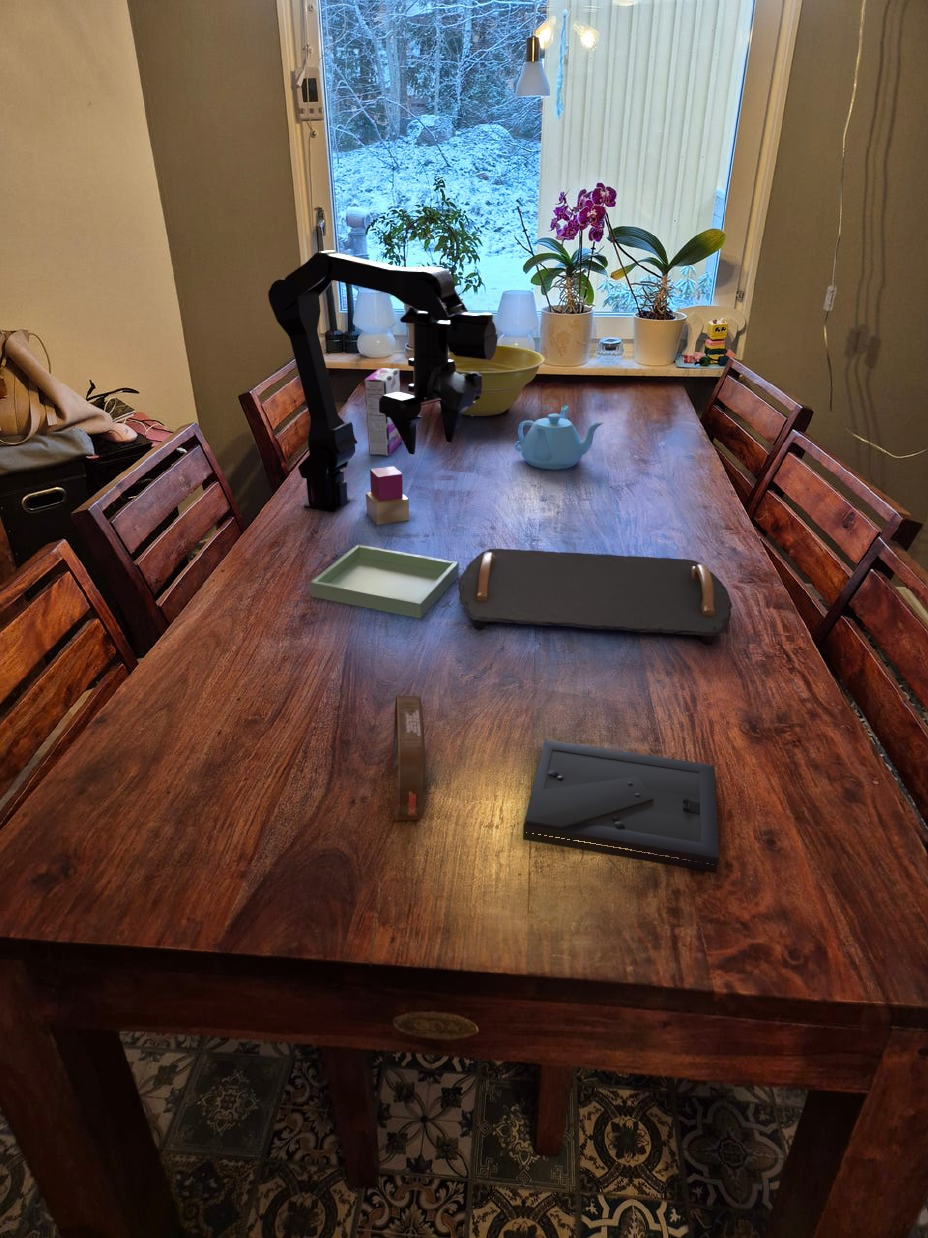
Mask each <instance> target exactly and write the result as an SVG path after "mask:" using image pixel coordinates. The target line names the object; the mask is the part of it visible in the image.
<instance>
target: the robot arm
mask: <svg viewBox="0 0 928 1238" xmlns="http://www.w3.org/2000/svg"><path fill="white" fill-rule="evenodd" d="M334 281H335V282H339V283H342V284H348V285H351V286H355V287H360V288H363V289H368V290H371V291H376V292H380V293H384V294H387V295H390V296H393V297H394V298H396V299H397V300H399V301H400V302H401V303H402V304H405V305H407V306H409V308H408V310H407V312H405V314H404V315H402V316H401V317H400V319H399V321H400V322H401V323H403V324H410V325H411V324H412V340H413V341H412V342H413V344H412V345H413V346H412V347H413V352H412V353H413V354H412V355H413V356H412V358H408V359H407V366H409V367H413V368H412V369H413V383H410V384H408V387H407V388H408V389H407V391H408V392H411V393H413V394H409V393H405V392H401V391H400V392H394V393H390V394H385V395H382V397H381V398H380V399H379V413H383V414H385V416H386V417H389V418H390V419H391V420H392V422H393V424H394V425H395V427H396V429H397V430H398V432H399V434H400V436H401V438H402V442H403V444H404V447H405V449H406V451H407V453H408V454H409V455H413V456H414V455H415V454H416V448H417V425H418V424H419V422H420V421H421V420H422V419H423V417H422V416H421V415H420V413H421V411H422V406H426V405H430V404H433V403H438V402H439V407H440V414H441V421H442V426H443V434H444V439H445V441H446V442H447V443H449V444H451V443H453V441H454V438H455V435H456V432H457V430H458V427H459V424H460V421H461V419H462V417H463V415H464V414H463V412H464V411H465V410H466V409H467V408H469V407H470V406H472V405H473V404H474V403H475V402H474V400H478V399H480V395H481V393H482V392H481V389H482V376H481V375H480V374H479V373H477V372H472V373H469V374H467V375H466V376H465V374H461V375H460V374H458V373H456V370H455V363H454V361H453V360H449V351H450V352H453V354H454V355H455V356H457V357H465V358H474V359H483V360H491V359H492V358H493V356H494V353H495V350H496V346H497V345H498V333H497V329H496V325H495V322H493V321H494V315H493V313H491V312H482V313H476V312H469V310H468V308H467V306H466V305H465V303H464V302H463V300H462V298H461V296H460V295H459V293H458V291H457V290H456V288H455V286H456V284H455V282H454V279H453V276H452V275H451V273H450V271H449V270H447V269H445V268H443V267H441V266H439V267H438V266H412V267H411V266H410V267H406V266H405V267H404V266H403V267H402V266H401V267H400V266H396V265H391V264H387V263H383V262H379V261H375V260H371V259H365V258H362V257H357V256H352V255H348V254H344V253H340V252H338V251H337V250H334V249H329V250H323V251H317V252H315V253H314V254H313V255H312V256H311V257H310V258H309V259H308V260H307V261H306V262H304V263H303V264H302V265H300V266H299V267H298V268H296V269H295V270H293V271H292V272H290V273H289V274H288V275H287V276H286V277H284V278H280V279H277V280H275V281H273V283H272V284H271V286H270V288H269V289H268V292H267V297H268V302H269V305H270V308H271V311H272V313H273V314H274V317H275V320H276V322H277V323H278V325H279V326H280V327H281V328H282V330H283V331H284V332H285V333H286V335H287V336H288V338H289V342H290V345H291V350H292V353H293V356H294V357H293V358H294V361H295V365H296V368H297V372H298V376H299V380H300V384H301V389H302V392H303V396H304V400H305V404H306V406H307V412H308V416H309V420H310V421H309V428H308V433H307V434H308V435H307V445H308V446H307V447H308V453H309V454H308V455H307V457H306V458H304V460H303V461H302V462H301V463H300V464H299V465H298V466H297V470H298V472H299V474H300V477H301V479H305V481H306V482H305V483H306V493H307V502H305V503H304V504H303V508H307V509H311V510H312V509H313V510H319V511H324V512H329V513H331V512H332V513H334V512H336V511H338V510H339V509H340V508H342V507H344V506H345V505H346V504H348V503H349V502H350V501H351V498H350V497H348V485H347V484H348V483H347V480H345V472H344V471H342V470H343V469H346V468H348V465H349V461H350V460H352V458H353V456H354V455H355V453H356V445H357V444H358V441H357V439H356V437H355V434H354V425H353V423H352V421H347V422H345V421H344V419H342V417H341V416H340V415H339V414H338V410H337V406H336V401H335V398H334V393H333V390H332V385H331V381H330V378H329V377H330V376H329V373H328V369H327V364H326V361H325V357H324V351H323V349H322V344H321V340H320V336H319V335H320V334H319V323H320V317H321V313H322V312H321V300H320V296H321V295H323V293H324V292H326V291H327V290H328V289H329V287H330V286H331V284H332V283H333V282H334Z"/></svg>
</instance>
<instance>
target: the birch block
mask: <svg viewBox="0 0 928 1238" xmlns="http://www.w3.org/2000/svg"><path fill="white" fill-rule="evenodd" d="M409 502H410V501H409V498H408V497H407V496H406V495H405V494H404V493H403V498H400V499H393V500H386V501H378V500H377V499H376V498H375V497H374V496H373V495H372V494H371V491H367V492H365V506H366V514H367V516H369V518H370V519H372V521H373V522H374V523H375V524H376V525H377V526H379V525H386V524H393V523H398V522H405V521H406V522H407V521H409V520H410V507H409V505H410V504H409Z"/></svg>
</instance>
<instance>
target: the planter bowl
mask: <svg viewBox="0 0 928 1238" xmlns="http://www.w3.org/2000/svg"><path fill="white" fill-rule="evenodd" d="M449 360H453V361H454V363H455V370H456V373H458V374H460V375H461V374H465V376H466V375H467V374H469V373H472V372H477V373H479V374H480V375H481V376H482V389H481V392H482V393H481V395H480V399H478V400H474V402H475V403H474V404H473V405H472V406H470V407H469V408H467V409H466V410H465V411H464V412H463V414H462V415H465V416H473V417H487V416H488V417H489V416H497V415H500V414H503V413H505V412H506V411H507V410H508V409H509V410H510V408H512V407H513V405H514V404H515V403H516V402H517V400H518V398H519V397H520V395H521V392H522V391H523V390H524V389H523V388H524V387H525V386H526V385H528V384H529V383H531V382H532V381H533V380H534V379H535V377H536V375H537V373H538V372H539V371H538V370H539V369H540V366H542V365H543V364H544V363H545V357H544V356H543V355H542V354H541V353H539V352H537V351H534V350H531V349H527V348H524V347H519V346H513V345H505V344H497V346H496V350H495V353H494V356H493V358H492V359H491V360H483V359H474V358H465V357H457V356H455V355H454V354H453V352H450V351H449Z"/></svg>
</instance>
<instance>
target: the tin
mask: <svg viewBox="0 0 928 1238" xmlns="http://www.w3.org/2000/svg"><path fill="white" fill-rule="evenodd" d="M393 725H394V727H393V729H394V730H393V756H392V757H393V811H394V812H393V815H394V821H395V822H398V821H416V820H420V819H422V817H423V815H424V811H423V807H422V806H423V805H422V804H423V793H424V790H425V785H426V784H425V783H426V781H425V780H426V743H425V742H426V741H425V728H424V727H425V725H424V715H423V703H422V698H421V697H420V696H418V695H400V694H396V695H395V701H394V724H393Z"/></svg>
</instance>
